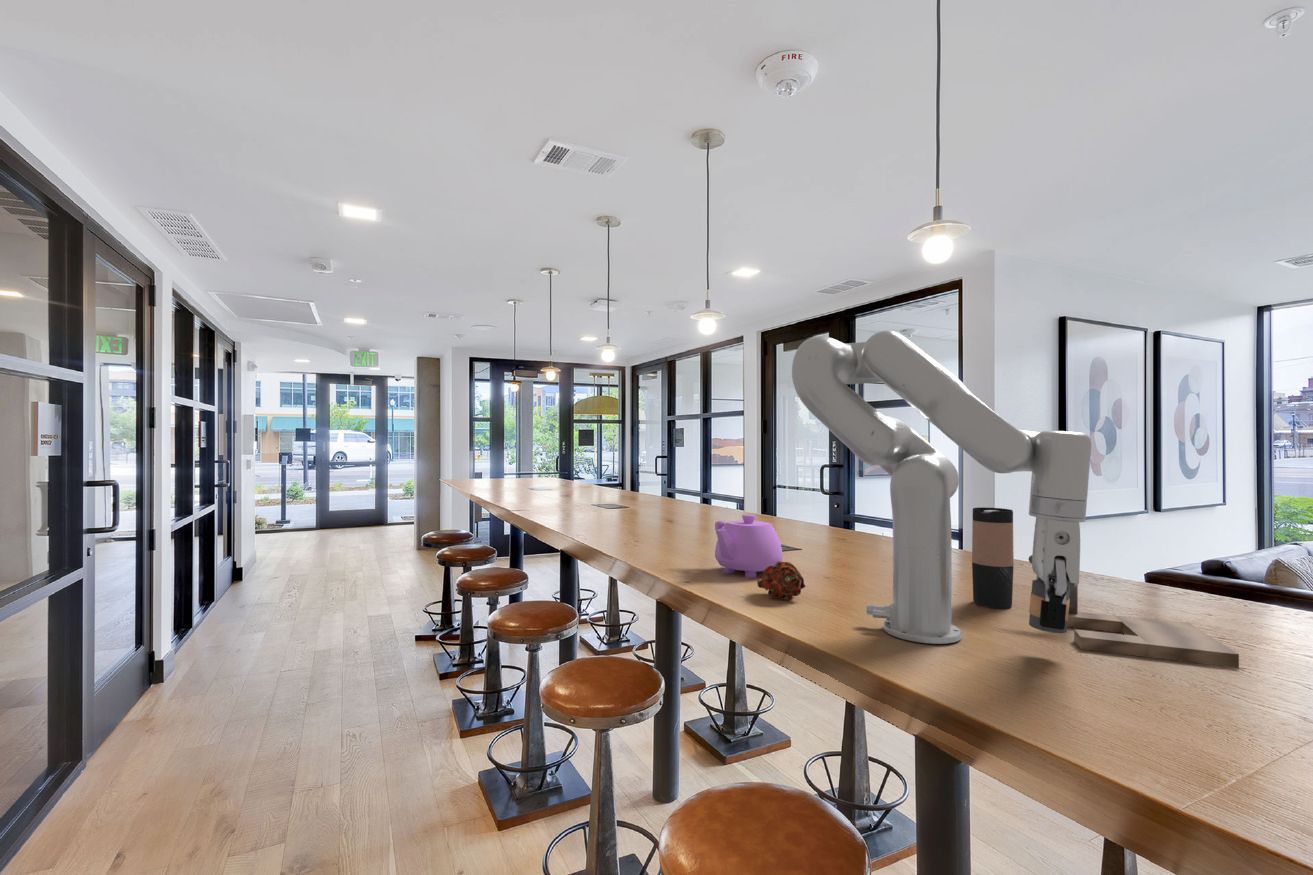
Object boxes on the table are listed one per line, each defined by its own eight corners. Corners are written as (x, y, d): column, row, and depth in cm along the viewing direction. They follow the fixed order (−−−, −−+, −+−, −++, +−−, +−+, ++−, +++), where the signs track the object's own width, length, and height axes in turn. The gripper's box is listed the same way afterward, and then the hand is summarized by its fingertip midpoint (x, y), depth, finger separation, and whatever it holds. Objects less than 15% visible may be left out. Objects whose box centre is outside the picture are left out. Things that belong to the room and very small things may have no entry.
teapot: (684, 571, 157) (685, 514, 157) (734, 562, 171) (734, 509, 171) (744, 585, 143) (744, 521, 143) (793, 573, 156) (793, 515, 156)
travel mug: (1002, 600, 130) (1003, 507, 131) (1020, 609, 123) (1020, 511, 123) (965, 599, 131) (966, 507, 131) (981, 608, 124) (981, 510, 124)
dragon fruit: (799, 612, 125) (763, 607, 135) (821, 584, 129) (785, 581, 139) (777, 581, 124) (742, 578, 134) (800, 553, 128) (765, 553, 138)
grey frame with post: (1045, 644, 101) (1045, 561, 101) (1027, 616, 118) (1027, 545, 118) (1238, 667, 91) (1238, 574, 91) (1188, 633, 108) (1188, 555, 108)
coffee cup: (1031, 629, 95) (1034, 585, 95) (1025, 619, 100) (1028, 577, 99) (1070, 635, 93) (1074, 590, 93) (1062, 625, 98) (1066, 583, 97)
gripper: (1100, 518, 86) (1090, 643, 87) (1072, 506, 102) (1063, 612, 103) (1039, 512, 89) (1030, 633, 90) (1020, 501, 105) (1012, 604, 105)
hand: (1047, 620), depth 96 cm, fingers closed on coffee cup, 5 cm apart
